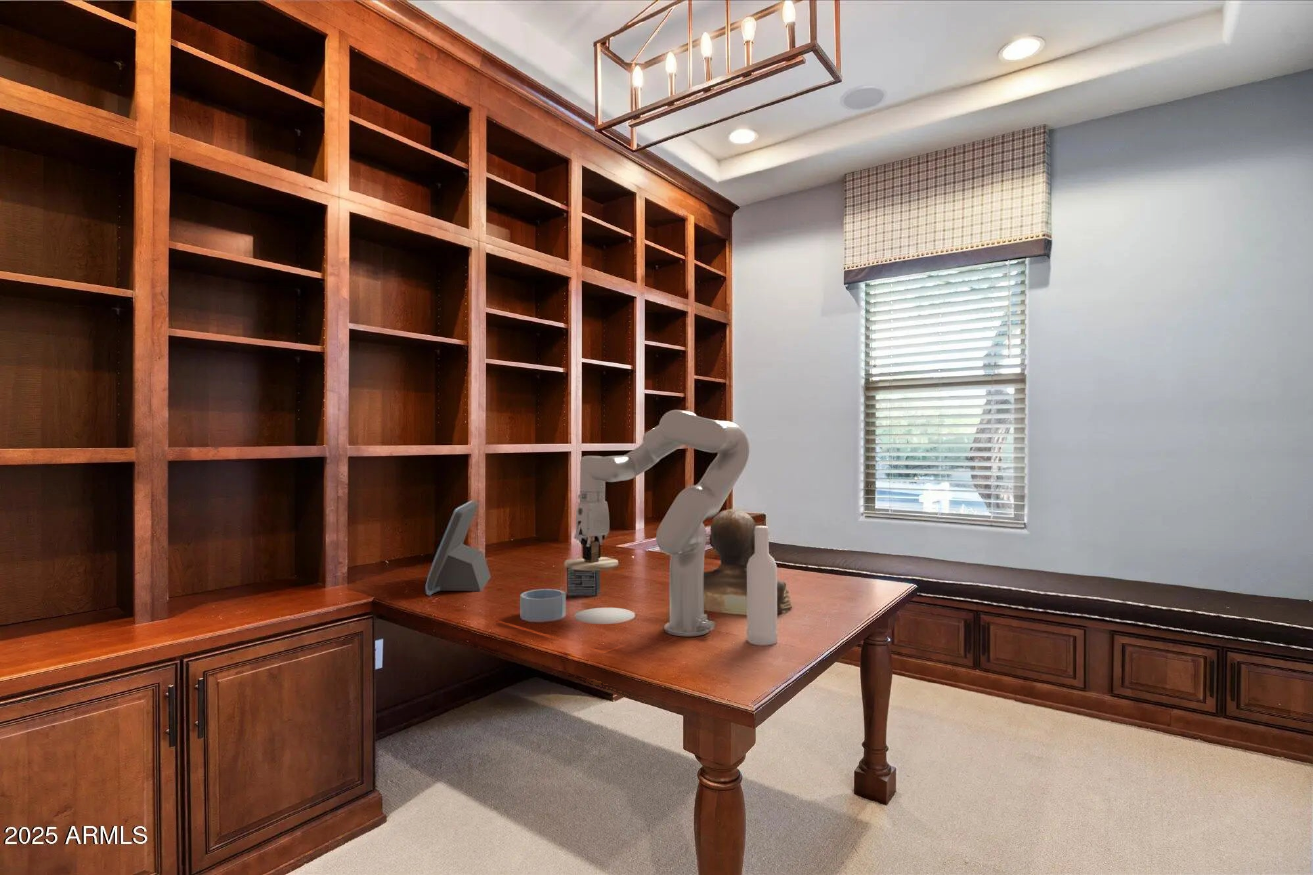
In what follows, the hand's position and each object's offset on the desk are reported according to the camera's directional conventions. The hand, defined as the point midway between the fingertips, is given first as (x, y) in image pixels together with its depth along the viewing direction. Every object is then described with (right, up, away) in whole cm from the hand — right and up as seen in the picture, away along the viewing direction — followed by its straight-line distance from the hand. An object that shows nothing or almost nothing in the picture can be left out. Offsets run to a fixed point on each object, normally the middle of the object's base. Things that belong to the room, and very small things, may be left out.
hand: (591, 558), depth 192 cm
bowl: (-14, -18, 0) cm, 23 cm away
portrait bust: (+45, -18, +14) cm, 50 cm away
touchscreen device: (-53, -19, +45) cm, 72 cm away
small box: (-5, -18, +27) cm, 33 cm away
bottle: (+47, -18, -24) cm, 56 cm away
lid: (0, -2, 0) cm, 2 cm away
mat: (+4, -18, 0) cm, 18 cm away
